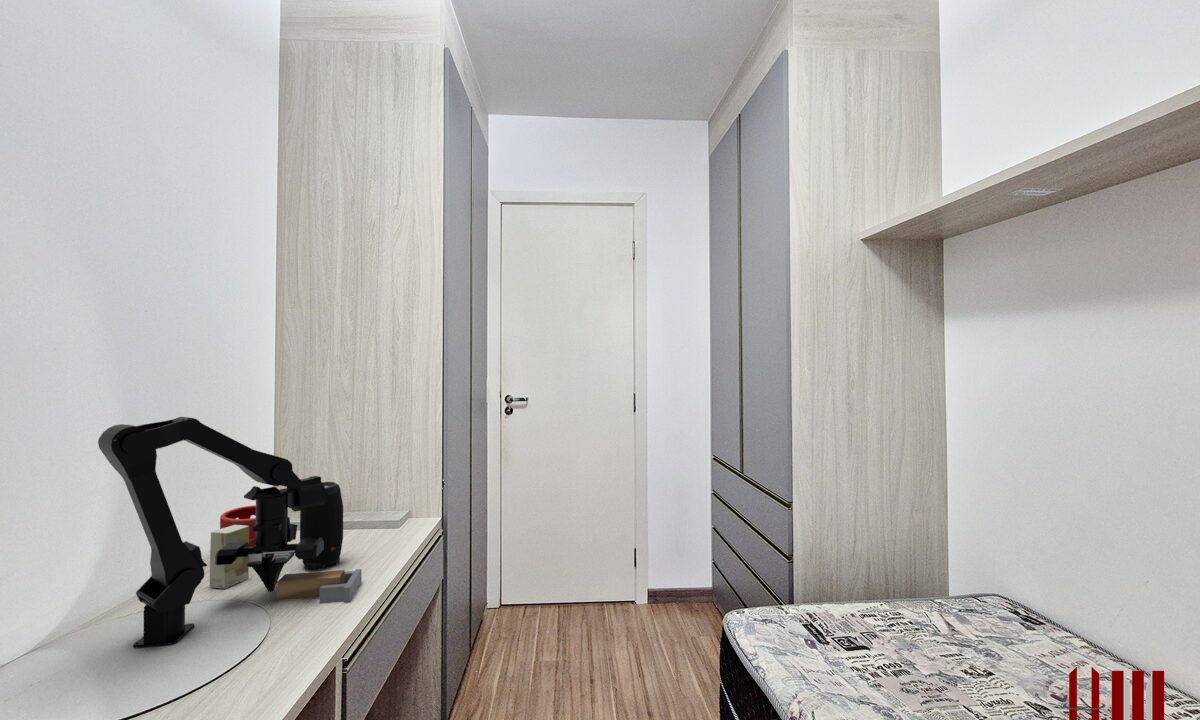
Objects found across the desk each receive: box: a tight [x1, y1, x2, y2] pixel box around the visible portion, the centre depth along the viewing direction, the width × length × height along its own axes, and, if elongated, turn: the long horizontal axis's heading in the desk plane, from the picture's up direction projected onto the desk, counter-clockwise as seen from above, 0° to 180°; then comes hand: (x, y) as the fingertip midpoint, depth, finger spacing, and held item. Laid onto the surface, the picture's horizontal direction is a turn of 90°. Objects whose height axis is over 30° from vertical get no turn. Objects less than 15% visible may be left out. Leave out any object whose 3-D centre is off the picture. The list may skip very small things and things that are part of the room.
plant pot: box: [219, 504, 256, 547], centre depth 133 cm, size 13×13×12 cm
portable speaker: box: [299, 481, 344, 572], centre depth 128 cm, size 9×9×20 cm
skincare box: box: [209, 525, 249, 590], centre depth 118 cm, size 6×4×12 cm
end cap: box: [319, 568, 363, 604], centre depth 112 cm, size 10×6×3 cm, turn 12°
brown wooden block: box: [276, 569, 346, 602], centre depth 112 cm, size 4×12×4 cm, turn 101°
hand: (271, 591), depth 109 cm, fingers closed
